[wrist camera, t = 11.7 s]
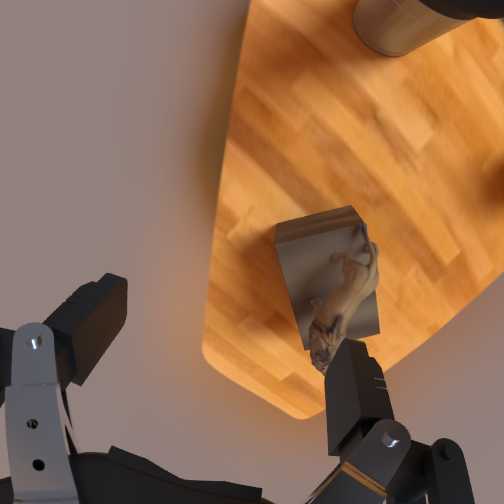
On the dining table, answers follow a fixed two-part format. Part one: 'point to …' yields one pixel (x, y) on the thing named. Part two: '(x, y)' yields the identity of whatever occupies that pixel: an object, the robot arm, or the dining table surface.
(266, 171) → the dining table surface
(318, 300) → the lion figurine
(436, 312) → the dining table surface
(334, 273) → the brown wooden block
